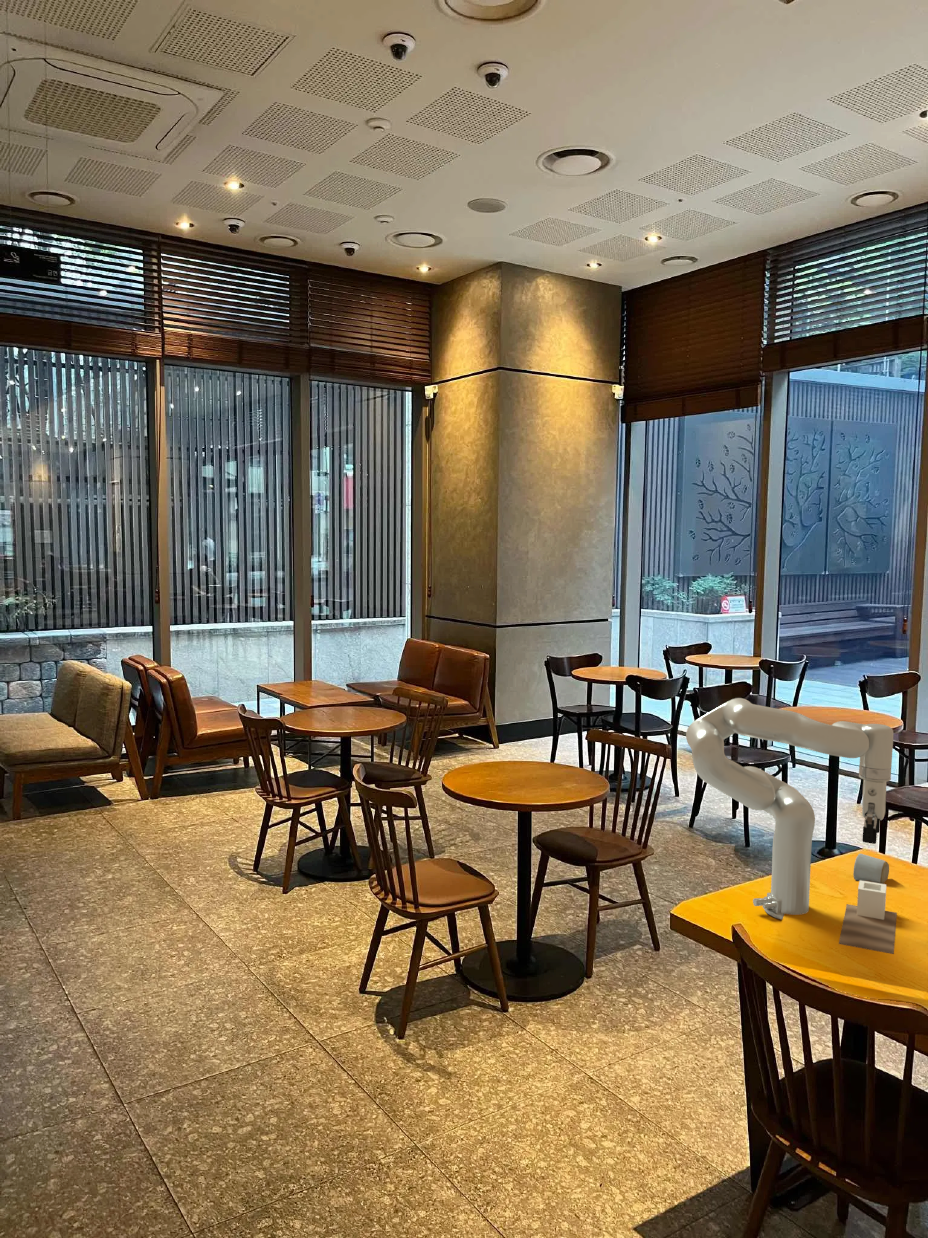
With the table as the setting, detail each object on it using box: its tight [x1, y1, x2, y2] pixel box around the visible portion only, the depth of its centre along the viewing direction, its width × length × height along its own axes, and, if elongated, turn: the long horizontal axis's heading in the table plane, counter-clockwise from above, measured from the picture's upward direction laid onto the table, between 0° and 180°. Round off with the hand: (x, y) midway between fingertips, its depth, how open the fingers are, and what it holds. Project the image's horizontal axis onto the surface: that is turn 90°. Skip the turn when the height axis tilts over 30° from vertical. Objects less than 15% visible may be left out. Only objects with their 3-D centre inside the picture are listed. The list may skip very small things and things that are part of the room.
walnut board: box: [838, 904, 898, 955], centre depth 233 cm, size 26×12×2 cm, turn 154°
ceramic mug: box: [852, 853, 890, 884], centre depth 267 cm, size 11×8×8 cm
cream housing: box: [856, 880, 887, 920], centre depth 241 cm, size 6×6×7 cm
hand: (870, 837), depth 241 cm, fingers open, 9 cm apart
